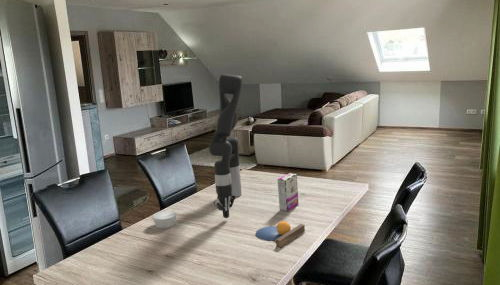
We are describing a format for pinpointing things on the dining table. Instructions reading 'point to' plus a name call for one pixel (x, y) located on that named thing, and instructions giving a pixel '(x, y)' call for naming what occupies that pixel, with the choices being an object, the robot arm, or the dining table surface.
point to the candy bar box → (288, 192)
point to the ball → (283, 227)
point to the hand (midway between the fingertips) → (226, 217)
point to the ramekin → (165, 219)
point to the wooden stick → (290, 235)
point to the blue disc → (268, 233)
